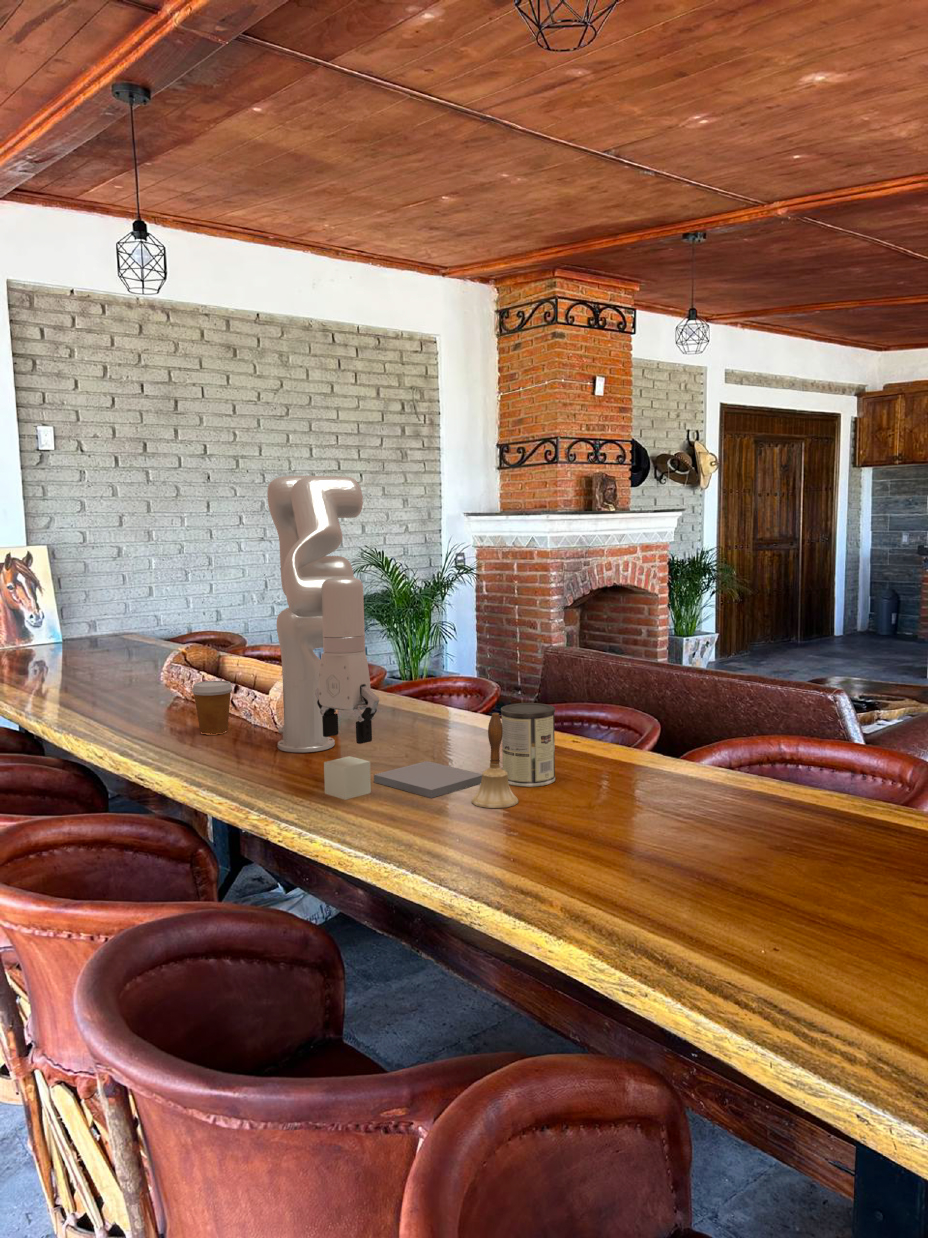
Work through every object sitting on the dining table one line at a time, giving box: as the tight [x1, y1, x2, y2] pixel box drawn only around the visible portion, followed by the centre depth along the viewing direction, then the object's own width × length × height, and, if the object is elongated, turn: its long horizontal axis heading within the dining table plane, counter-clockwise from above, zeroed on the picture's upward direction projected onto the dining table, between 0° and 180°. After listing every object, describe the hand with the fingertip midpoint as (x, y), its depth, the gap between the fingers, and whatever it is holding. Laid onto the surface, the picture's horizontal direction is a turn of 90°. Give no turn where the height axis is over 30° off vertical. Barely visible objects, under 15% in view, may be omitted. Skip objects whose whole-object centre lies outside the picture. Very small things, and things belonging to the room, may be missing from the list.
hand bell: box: [471, 712, 519, 809], centre depth 166 cm, size 8×8×16 cm
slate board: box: [373, 760, 482, 799], centre depth 180 cm, size 16×14×2 cm
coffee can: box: [500, 702, 556, 788], centre depth 180 cm, size 10×10×14 cm
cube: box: [323, 755, 372, 801], centre depth 174 cm, size 6×6×6 cm
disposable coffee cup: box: [191, 680, 233, 734], centre depth 226 cm, size 10×10×12 cm
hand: (347, 739), depth 172 cm, fingers open, 9 cm apart
